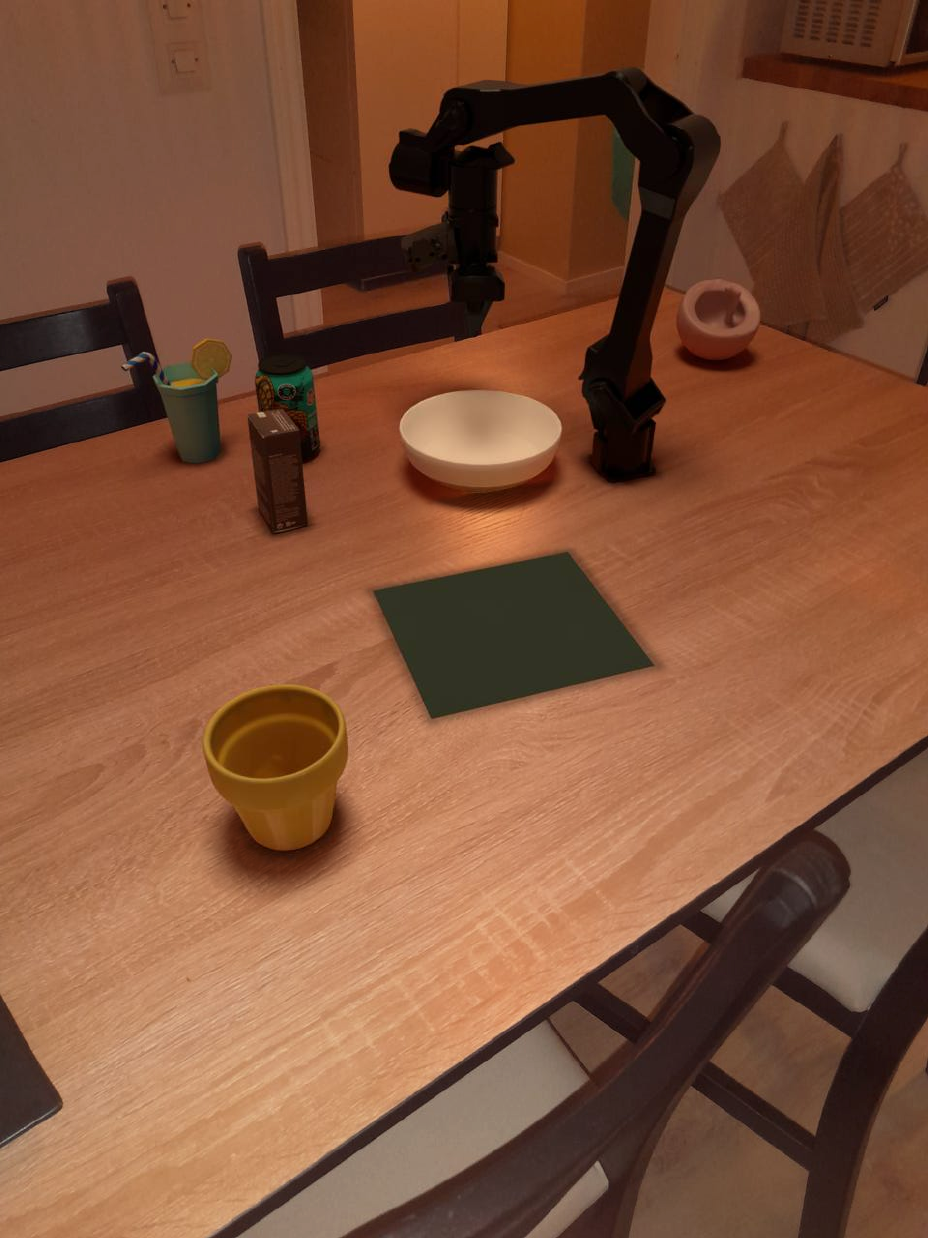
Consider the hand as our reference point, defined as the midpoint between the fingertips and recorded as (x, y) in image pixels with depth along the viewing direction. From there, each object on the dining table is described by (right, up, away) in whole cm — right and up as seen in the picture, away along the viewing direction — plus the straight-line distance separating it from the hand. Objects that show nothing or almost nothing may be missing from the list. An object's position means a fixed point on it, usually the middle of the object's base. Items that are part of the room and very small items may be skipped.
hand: (471, 332), depth 123 cm
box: (-22, -25, -12) cm, 35 cm away
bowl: (+1, -18, -3) cm, 19 cm away
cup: (-35, -16, -1) cm, 39 cm away
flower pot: (-15, -52, -47) cm, 72 cm away
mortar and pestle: (+37, +3, +24) cm, 44 cm away
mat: (+3, -37, -28) cm, 47 cm away
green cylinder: (-23, -15, 0) cm, 28 cm away
